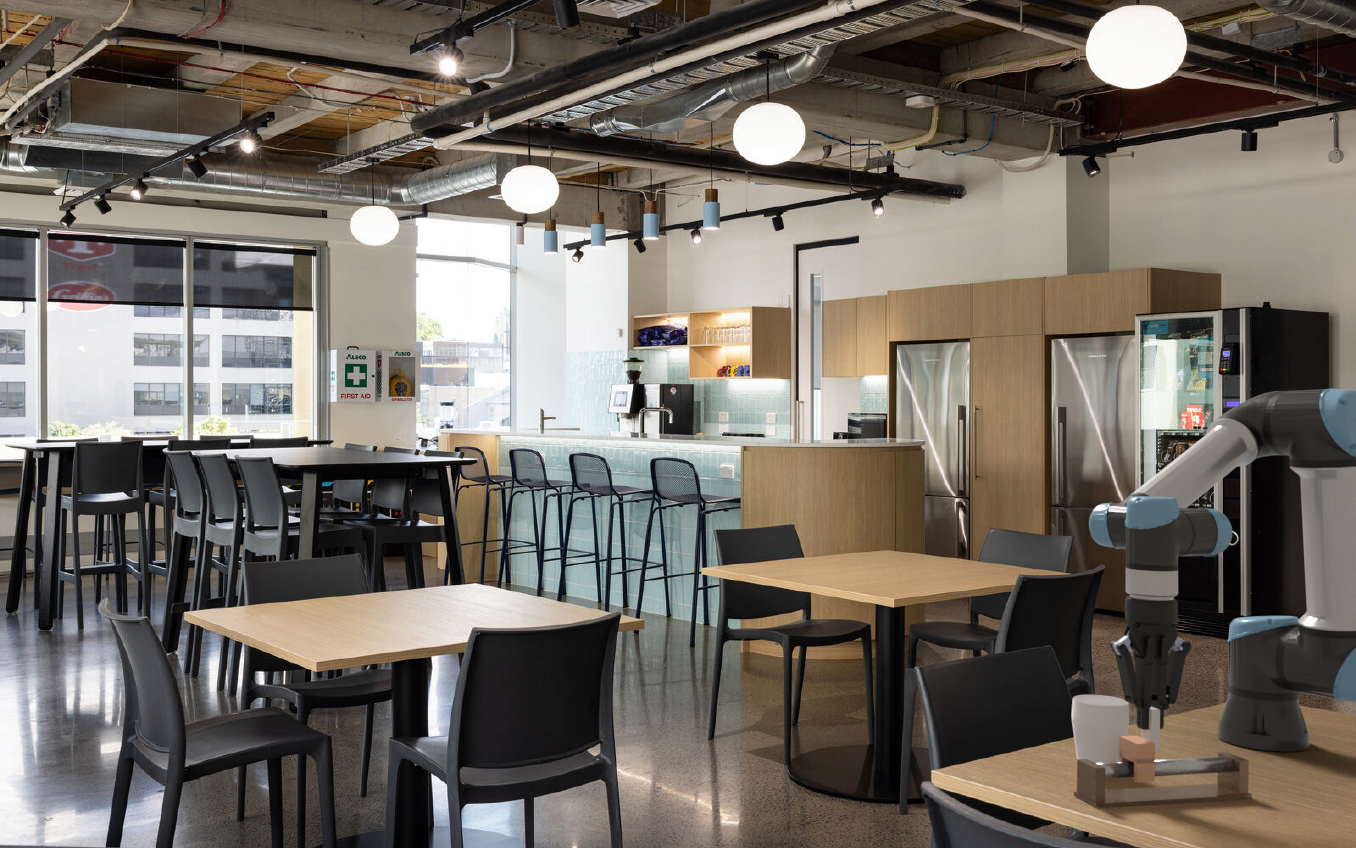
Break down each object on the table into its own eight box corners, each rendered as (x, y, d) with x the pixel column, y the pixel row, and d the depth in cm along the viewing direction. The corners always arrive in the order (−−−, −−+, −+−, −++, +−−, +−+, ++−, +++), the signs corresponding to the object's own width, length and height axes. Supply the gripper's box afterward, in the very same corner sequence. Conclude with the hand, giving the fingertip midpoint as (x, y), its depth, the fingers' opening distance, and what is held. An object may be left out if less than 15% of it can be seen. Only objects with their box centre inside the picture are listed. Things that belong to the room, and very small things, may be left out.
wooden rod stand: (1225, 787, 183) (1225, 751, 184) (1251, 798, 178) (1251, 761, 178) (1073, 795, 178) (1074, 758, 178) (1096, 808, 172) (1096, 769, 172)
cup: (1133, 783, 185) (1134, 708, 185) (1074, 778, 187) (1075, 704, 187) (1123, 767, 194) (1124, 696, 194) (1067, 763, 196) (1068, 693, 196)
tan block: (1136, 773, 179) (1136, 735, 179) (1154, 781, 175) (1154, 743, 175) (1119, 774, 179) (1119, 736, 179) (1137, 782, 174) (1137, 744, 174)
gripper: (1172, 593, 183) (1171, 742, 182) (1099, 594, 180) (1098, 745, 179) (1204, 599, 175) (1203, 754, 175) (1128, 600, 173) (1127, 758, 172)
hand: (1149, 750), depth 177 cm, fingers closed
